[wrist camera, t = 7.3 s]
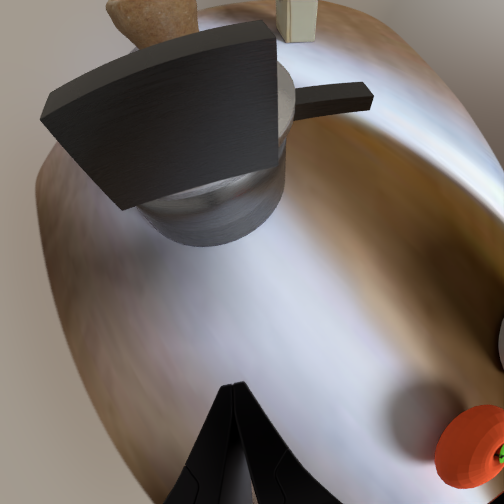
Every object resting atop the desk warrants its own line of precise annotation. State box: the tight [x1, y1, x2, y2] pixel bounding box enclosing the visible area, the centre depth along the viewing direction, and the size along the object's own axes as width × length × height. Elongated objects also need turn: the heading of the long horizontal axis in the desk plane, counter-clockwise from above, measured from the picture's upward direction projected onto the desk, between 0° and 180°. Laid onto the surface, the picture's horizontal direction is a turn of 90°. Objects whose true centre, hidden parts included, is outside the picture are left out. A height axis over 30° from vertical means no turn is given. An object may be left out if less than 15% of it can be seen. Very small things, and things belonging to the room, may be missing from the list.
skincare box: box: [276, 0, 318, 43], centre depth 27 cm, size 6×4×12 cm
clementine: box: [435, 405, 504, 489], centre depth 12 cm, size 8×7×7 cm
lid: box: [40, 20, 295, 211], centre depth 13 cm, size 14×14×8 cm
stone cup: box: [106, 0, 199, 50], centre depth 24 cm, size 15×12×15 cm
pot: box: [136, 82, 374, 247], centre depth 21 cm, size 13×20×8 cm, turn 104°
